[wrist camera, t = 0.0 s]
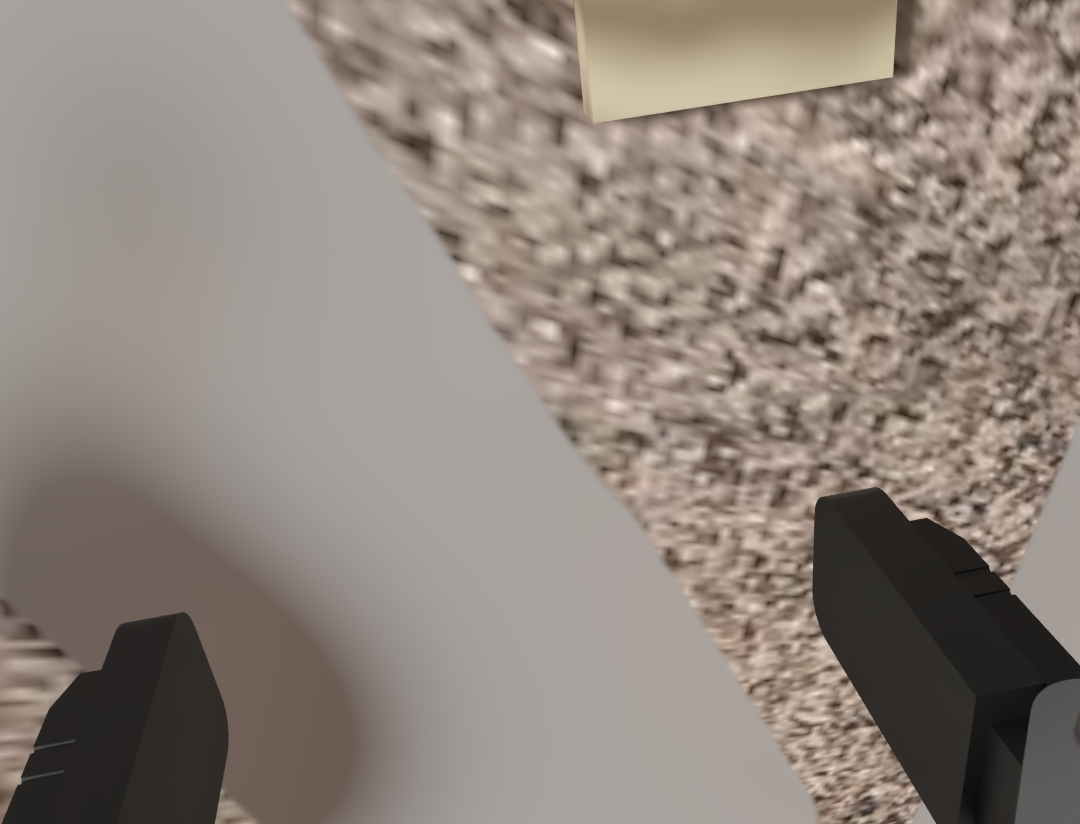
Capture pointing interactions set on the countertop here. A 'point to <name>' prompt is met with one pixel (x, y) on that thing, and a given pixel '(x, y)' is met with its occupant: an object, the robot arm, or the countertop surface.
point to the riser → (724, 50)
